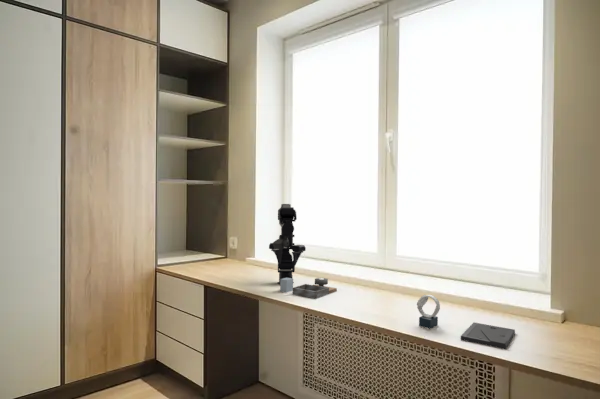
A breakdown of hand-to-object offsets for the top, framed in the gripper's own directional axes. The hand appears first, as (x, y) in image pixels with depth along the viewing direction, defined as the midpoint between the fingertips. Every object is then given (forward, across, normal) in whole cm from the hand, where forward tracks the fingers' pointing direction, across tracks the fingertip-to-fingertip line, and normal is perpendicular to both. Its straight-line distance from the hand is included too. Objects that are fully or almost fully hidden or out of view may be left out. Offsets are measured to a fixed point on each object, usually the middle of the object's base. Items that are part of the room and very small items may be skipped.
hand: (286, 264), depth 197 cm
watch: (+13, +73, -10) cm, 75 cm away
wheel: (+9, +13, +11) cm, 19 cm away
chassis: (+13, +13, +6) cm, 19 cm away
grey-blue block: (+13, 0, 0) cm, 13 cm away
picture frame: (+14, +93, -9) cm, 94 cm away
